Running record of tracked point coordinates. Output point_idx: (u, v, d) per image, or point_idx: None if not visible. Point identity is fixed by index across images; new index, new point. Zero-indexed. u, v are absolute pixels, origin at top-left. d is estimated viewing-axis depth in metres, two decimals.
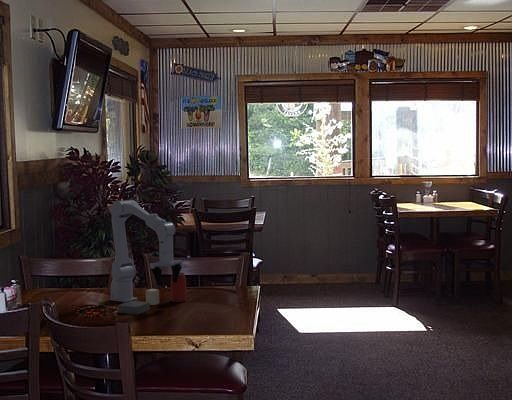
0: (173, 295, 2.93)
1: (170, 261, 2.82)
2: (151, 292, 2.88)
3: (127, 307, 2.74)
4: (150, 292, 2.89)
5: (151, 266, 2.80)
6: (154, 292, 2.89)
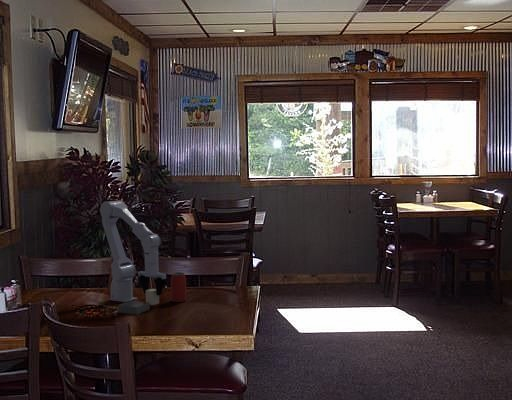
0: (173, 295, 2.93)
1: (147, 272, 2.88)
2: (151, 292, 2.88)
3: (127, 307, 2.74)
4: (150, 292, 2.89)
5: None
6: (154, 292, 2.89)
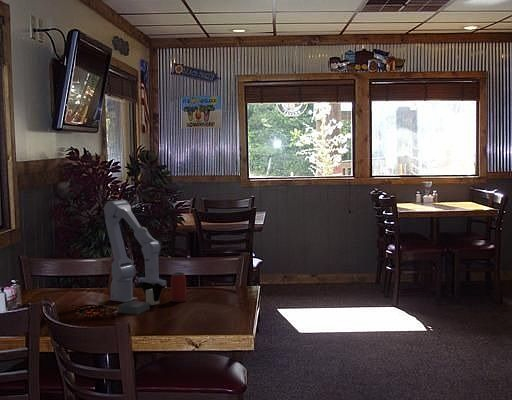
0: (173, 295, 2.93)
1: (147, 279, 2.88)
2: (151, 292, 2.88)
3: (127, 307, 2.74)
4: (150, 292, 2.89)
5: None
6: None
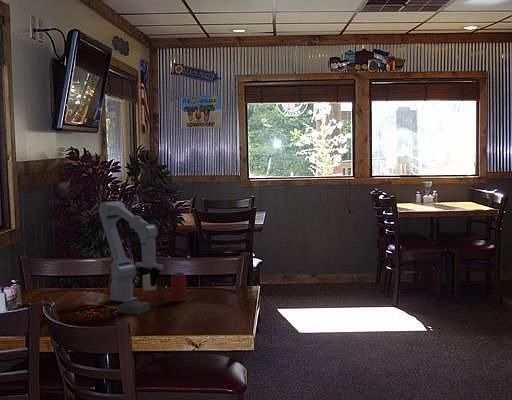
0: (173, 295, 2.93)
1: (144, 263, 2.85)
2: (148, 277, 2.86)
3: (127, 307, 2.74)
4: (147, 277, 2.86)
5: None
6: None
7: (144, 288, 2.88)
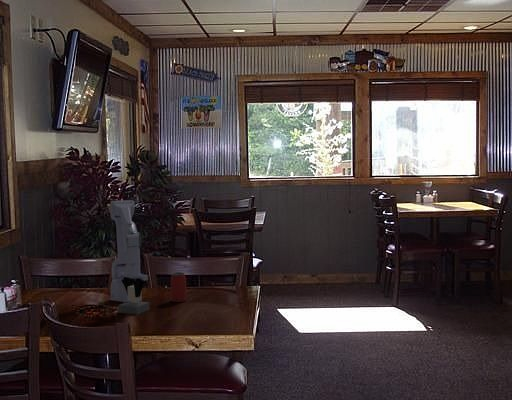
0: (173, 295, 2.93)
1: (128, 273, 2.75)
2: (133, 288, 2.75)
3: (127, 307, 2.74)
4: (132, 288, 2.76)
5: None
6: None
7: (129, 300, 2.77)
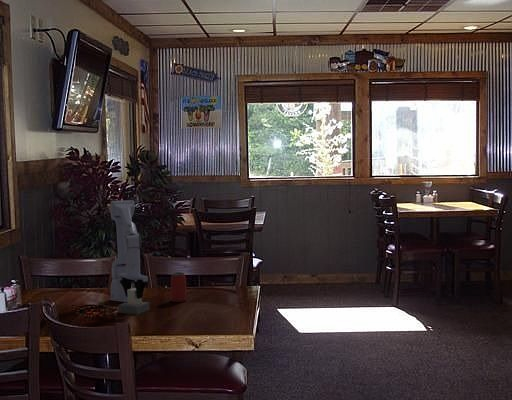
0: (173, 295, 2.93)
1: (128, 275, 2.75)
2: (133, 291, 2.75)
3: (127, 307, 2.74)
4: (132, 291, 2.76)
5: None
6: None
7: (129, 303, 2.77)
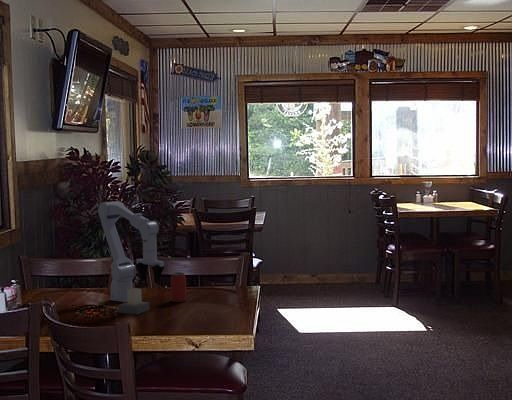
0: (173, 295, 2.93)
1: (145, 260, 2.86)
2: (133, 291, 2.75)
3: (127, 307, 2.74)
4: (132, 291, 2.76)
5: None
6: (136, 291, 2.76)
7: (129, 303, 2.77)
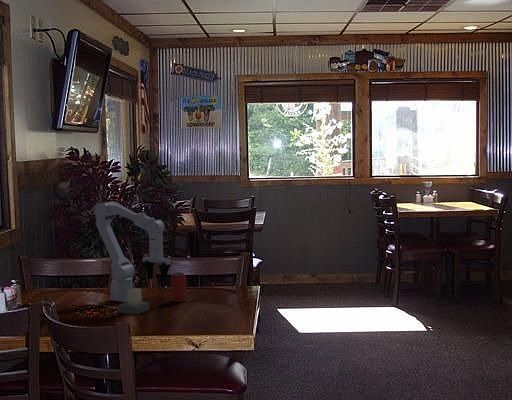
0: (173, 295, 2.93)
1: (152, 258, 2.90)
2: (133, 291, 2.75)
3: (127, 307, 2.74)
4: (132, 291, 2.76)
5: None
6: (136, 291, 2.76)
7: (129, 303, 2.77)
